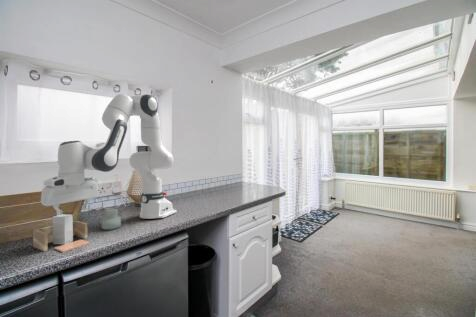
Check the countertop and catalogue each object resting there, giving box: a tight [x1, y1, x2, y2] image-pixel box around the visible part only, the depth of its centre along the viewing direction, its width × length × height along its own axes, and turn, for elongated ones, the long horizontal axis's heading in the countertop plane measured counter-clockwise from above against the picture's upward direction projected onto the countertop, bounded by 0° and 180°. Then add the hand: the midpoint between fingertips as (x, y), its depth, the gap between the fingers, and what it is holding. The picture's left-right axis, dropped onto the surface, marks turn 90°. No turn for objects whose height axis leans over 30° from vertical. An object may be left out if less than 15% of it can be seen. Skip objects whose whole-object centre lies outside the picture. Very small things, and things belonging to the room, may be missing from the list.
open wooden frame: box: [32, 219, 88, 252], centre depth 99 cm, size 16×10×7 cm, turn 152°
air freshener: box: [101, 207, 122, 231], centre depth 117 cm, size 11×8×10 cm
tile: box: [53, 239, 91, 253], centre depth 94 cm, size 10×7×1 cm
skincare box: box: [52, 213, 74, 245], centre depth 98 cm, size 6×4×12 cm
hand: (72, 212), depth 95 cm, fingers open, 8 cm apart
